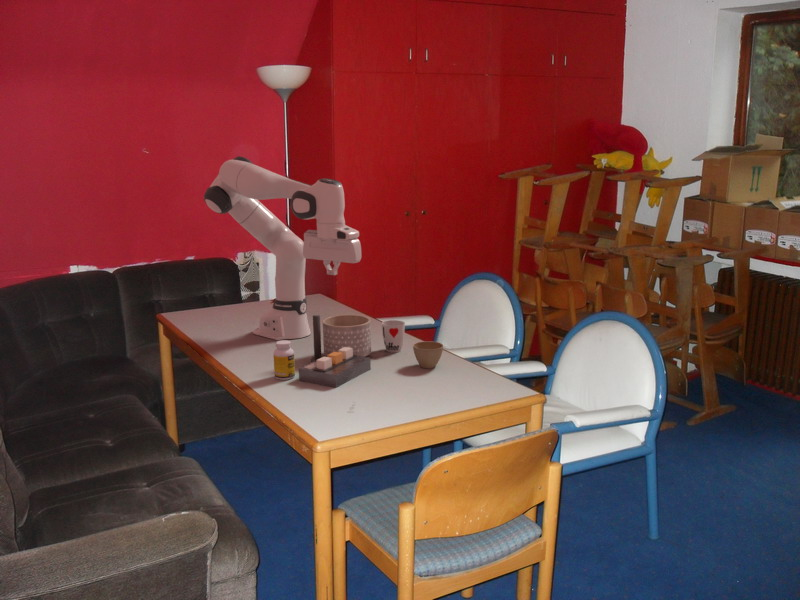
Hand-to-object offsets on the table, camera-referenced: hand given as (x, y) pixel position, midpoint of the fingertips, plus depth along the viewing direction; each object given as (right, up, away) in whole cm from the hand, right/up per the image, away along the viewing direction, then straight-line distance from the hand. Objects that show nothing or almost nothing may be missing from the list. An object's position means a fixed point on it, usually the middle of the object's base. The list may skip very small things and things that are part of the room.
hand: (332, 274), depth 240 cm
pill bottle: (-15, -33, 0) cm, 36 cm away
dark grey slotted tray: (+1, -32, +2) cm, 32 cm away
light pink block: (-2, -29, -4) cm, 30 cm away
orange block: (+1, -28, +1) cm, 28 cm away
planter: (+3, -28, +22) cm, 36 cm away
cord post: (-6, -29, +16) cm, 33 cm away
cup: (+19, -26, +28) cm, 43 cm away
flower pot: (+31, -30, +10) cm, 44 cm away
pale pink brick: (+4, -27, +6) cm, 28 cm away
